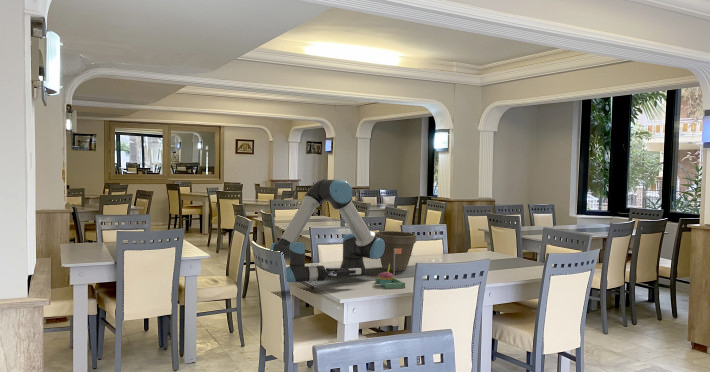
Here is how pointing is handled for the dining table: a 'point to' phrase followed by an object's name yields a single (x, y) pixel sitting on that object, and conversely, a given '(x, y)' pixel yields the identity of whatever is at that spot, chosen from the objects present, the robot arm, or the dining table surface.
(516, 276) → the dining table surface
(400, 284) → the mini putting green
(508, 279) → the dining table surface
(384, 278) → the cupcake
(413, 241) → the plant pot
